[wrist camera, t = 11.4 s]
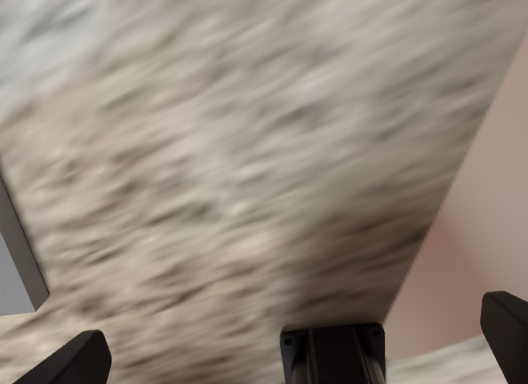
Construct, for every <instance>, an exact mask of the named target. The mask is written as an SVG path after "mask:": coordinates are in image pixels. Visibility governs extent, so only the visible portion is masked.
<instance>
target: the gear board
mask: <svg viewBox="0 0 528 384" xmlns="http://www.w3.org/2000/svg"><path fill="white" fill-rule="evenodd" d="M48 297H49V294H48V291H47V289H46V286H45V284H44V281H43V279H42V277H41V274H40V272H39V269H38V267H37V264H36V262H35V260H34V257H33V255H32V252H31V250H30V247H29V245H28V243H27V240H26V238H25V235H24V233H23V230H22V228H21V226H20V223H19V221H18V218H17V216H16V213H15V211H14V209H13V206H12V204H11V201H10V199H9V197H8V194H7V192H6V189H5V187H4V184H3V182H2V180H1V177H0V316H2V315H12V314H22V313H32V312H36V311H37V310H38V309H39V308H40V306H41V305H42V304H43V303H44V302H45V301H46V299H47V298H48Z"/></svg>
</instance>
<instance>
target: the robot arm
mask: <svg viewBox="0 0 528 384" xmlns="http://www.w3.org/2000/svg"><path fill="white" fill-rule="evenodd" d="M480 323H481V329H482V331H483V334H484V336H485V338H486V340H487V342H488V344H489V346H490V348H491V350H492V352H493V354H494V356H495V358H496V360H497V362H498V364H499V366H500V368H501V370H502V372H503V374H504V376H505V378H506V381H507V383H508V384H528V302H527V301H524V300H522V299H520V298H518V297H516V296H514V295H512V294H510V293H508V292H505V291H494V292H486V293H485V294H484V296H483V299H482V309H481V319H480ZM376 330H377V332H374V331H376ZM285 339H290V340H285ZM280 347H281V354H282V361H283V367H284V374H285V381H286V384H386V381H385V332H384V329H383V327H382V325H381V324H379V323H368V324H357V325H346V326H335V327H325V328H314V329H303V330H292V331H285V332H283V333H281V335H280ZM111 363H112V357H111V353H110V350H109V347H108V345H107V342H106V339H105V336H104V334H103V332H102V331H101V330H87V331H83V332H81V333H80V334H78V335H77V336H76V337H74V338H73V339H72V340H70V341H69V342H68V343H66V344H65V345H64V346H62V347H61V348H60V349H58V350H57V351H56V352H54V353H53V354H52V355H50V356H49V357H48V358H46V359H45V360H44V361H42V362H41V363H40V364H38V365H37V366H36V367H34V368H33V369H31V370H30V371H29V372H27V373H26V374H25V375H23V376H22V377H21V378H19V379H18V380H17V381H15V382H14V383H13V384H106V383H107V379H108V376H109V372H110V368H111Z"/></svg>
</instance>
